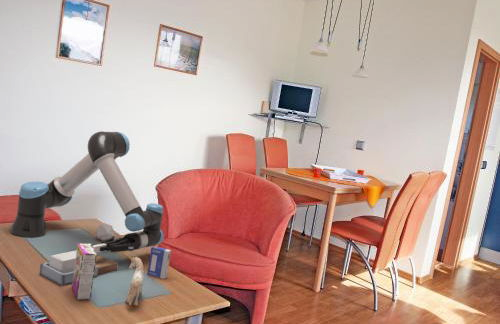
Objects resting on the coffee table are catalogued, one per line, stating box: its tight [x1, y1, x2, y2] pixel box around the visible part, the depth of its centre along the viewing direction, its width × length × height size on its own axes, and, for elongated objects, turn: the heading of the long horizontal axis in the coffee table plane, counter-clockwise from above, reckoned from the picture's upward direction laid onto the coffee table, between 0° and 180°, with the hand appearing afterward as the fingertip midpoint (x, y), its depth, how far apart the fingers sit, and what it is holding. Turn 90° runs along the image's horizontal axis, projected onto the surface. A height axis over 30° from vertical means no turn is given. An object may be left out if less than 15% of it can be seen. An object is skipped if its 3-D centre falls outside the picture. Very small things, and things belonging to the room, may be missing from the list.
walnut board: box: [95, 254, 119, 277], centre depth 184 cm, size 12×10×3 cm
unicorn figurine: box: [124, 252, 145, 307], centre depth 162 cm, size 7×20×13 cm, turn 24°
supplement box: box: [49, 249, 77, 274], centre depth 172 cm, size 7×7×13 cm
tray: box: [39, 261, 99, 286], centre depth 172 cm, size 13×16×4 cm
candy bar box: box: [71, 242, 98, 301], centre depth 159 cm, size 11×5×16 cm, turn 30°
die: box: [94, 222, 115, 241], centre depth 220 cm, size 8×9×10 cm
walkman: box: [146, 245, 172, 280], centre depth 187 cm, size 8×3×12 cm, turn 78°
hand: (92, 249), depth 179 cm, fingers closed
